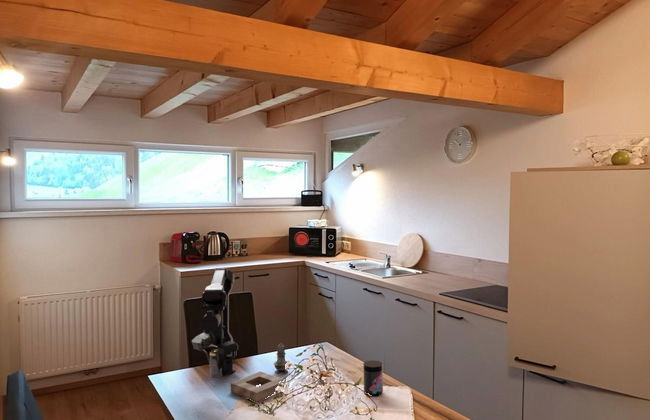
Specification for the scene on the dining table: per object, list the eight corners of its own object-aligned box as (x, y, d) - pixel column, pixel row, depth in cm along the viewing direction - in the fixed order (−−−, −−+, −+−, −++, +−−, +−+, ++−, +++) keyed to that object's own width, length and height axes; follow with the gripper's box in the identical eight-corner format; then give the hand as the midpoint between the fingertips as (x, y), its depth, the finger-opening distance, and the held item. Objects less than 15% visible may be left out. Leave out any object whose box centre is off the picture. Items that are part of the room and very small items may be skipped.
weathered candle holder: (286, 375, 186) (285, 344, 186) (272, 374, 187) (271, 344, 187) (290, 369, 192) (289, 340, 191) (276, 369, 193) (275, 339, 192)
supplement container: (365, 397, 164) (364, 367, 164) (362, 389, 171) (361, 360, 171) (384, 396, 165) (384, 366, 164) (380, 388, 171) (380, 360, 171)
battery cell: (207, 376, 169) (207, 351, 168) (217, 373, 172) (216, 348, 172) (214, 379, 166) (214, 353, 166) (224, 376, 169) (223, 350, 169)
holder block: (230, 392, 170) (230, 382, 170) (260, 380, 181) (260, 371, 181) (257, 403, 161) (256, 392, 161) (286, 389, 172) (286, 380, 172)
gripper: (179, 324, 168) (180, 368, 169) (211, 333, 156) (212, 381, 157) (206, 318, 177) (207, 360, 177) (238, 326, 165) (239, 371, 165)
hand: (215, 367), depth 169 cm, fingers closed on battery cell, 4 cm apart
